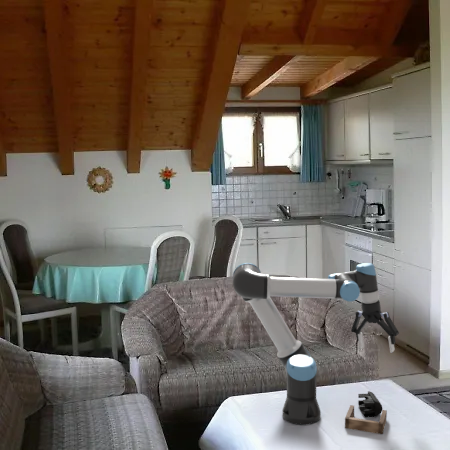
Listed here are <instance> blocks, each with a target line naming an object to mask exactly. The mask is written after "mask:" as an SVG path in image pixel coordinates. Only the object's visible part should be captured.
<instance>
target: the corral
mask: <svg viewBox="0 0 450 450" xmlns="http://www.w3.org/2000/svg"><path fill="white" fill-rule="evenodd" d="M386 423H387V409H386V410H385V409H382V412H381V413H380V419H379V421H377V420H370V419H364V418H358V417H355V405H353V404H352V405H349V407H348V410H347V412H346V415H345V418H344V429H348V430H353V431H359V432H360V431H361V432H365V433H372V434H376V435H377V434H379V435H383V434H384V430H385V426H386Z"/></svg>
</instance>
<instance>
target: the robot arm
mask: <svg viewBox="0 0 450 450" xmlns="http://www.w3.org/2000/svg"><path fill="white" fill-rule="evenodd" d="M376 272H377V271H376V266H375V264H373V263H371V262H364V263H358V264H357V265H356V266H355V269H354V270H351V271H344V272H338V273H337V272H335V273H332V274H331V273H330V274H328V276H327V278H318V277H317V278H315V277H313V278H311V277H310V278H309V277H286V276H285V277H283V276H282V277H281V276H280V277H279V276H270V275H269V274H267V273H262V271H261V270H260V268H259V267H258V266H257V265H256V264H254V263H251V262H244V263H240V264H239V265H238V266H237V267H235V269H234V271H233V272H232V288H233V290H234V292H235V293H236V294H237V295H238V296H240V297H241V298H242V300H243V301H244V303H249V304H250V306H251V308H252V309H253V311H254V313H255V314H256V316H257V318H258V319H259V320H260V322H261V324H262V326H263V327H264V329H265V331H266V333H267V334H268V336H269V339H271V341H272V343H273V344H274V346H275V348H276V349H277V354H276V355H277V358H278V359H279V361H280V362H281V365H282V366H283V368H284V371H285V376H286V398H285V403H284V404H283V407H282V418H283V419H284V420H285V421H287V422H289V423H290V424H295V425H300V426H303V425H305V426H306V425H312V424H316V423H318V422H319V421H320V420H321V416H322V415H321V413H322V412H321V408H320V405H319V402H318V398H317V371H318V367H317V363H316V360H315V359H314V358H313V357H312V356H311V354H310V351H308V349H306V348H305V345H304V344H303V343H302V341H301V340H298V339H296V338H295V336H294V334H293V333H292V331H291V330H290V328H289V326H288V324H287V323H286V321H285V319H284V318H283V316H282V315H281V313H280V311H279V309H278V308H277V306H276V304H275V302H274V301H273V299H272V298H273V297H277V298H278V297H279V298H309V299H312V298H313V299H335V300H336V299H337V300H338V299H340V300H344V301H346V302H349V303H350V302H351V303H352V302H354V301H356V300H357V299H358V298H359V297H360V302H361V303H360V306H361V310H360V309H358V310H357V311H356V312H355V318H354V321H353V323H352V327H351V330H350V332H351V333H354V334H355V336H356V341H357V342H358V345H359V350H363V349H364V348H365V341H364V335H363V332H362V331H363V329H364V327H365V326H366V324H367V323H368V324H372V323H373V324H377V325H378V326H380V328H382V329H383V331H385V333H386V334H387V335H388V337H387V339H388V346H389V348H388V349H389V353H390V354H391V353H393V352H394V351H395V344H396V336H398V335H399V334H400V332H399V330H398V328H397V327H396V325H395V323H394V322H393V320H392V318H391V317H390V313H389V312H388V311H386V312H382V311H381V301H380V294H379V287H378V281H377V280H378V278H377V273H376ZM362 317H363V318H364V319H363V320H362V322H361V323H360V320H361V318H362Z"/></svg>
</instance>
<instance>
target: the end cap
mask: <svg viewBox="0 0 450 450" xmlns="http://www.w3.org/2000/svg"><path fill="white" fill-rule="evenodd" d="M358 399H361V400H358V401H357V402H358V409H359V411H360V412H361V414H362V416H363V418H376V417H377V416H380V415H381V414H382V410H384V409H383V405H382V404H381V402H380V400H379V399H378V398H377V397H376V395H375V393H374V392H372V391H370V390H368V391H367V393H358Z"/></svg>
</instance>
